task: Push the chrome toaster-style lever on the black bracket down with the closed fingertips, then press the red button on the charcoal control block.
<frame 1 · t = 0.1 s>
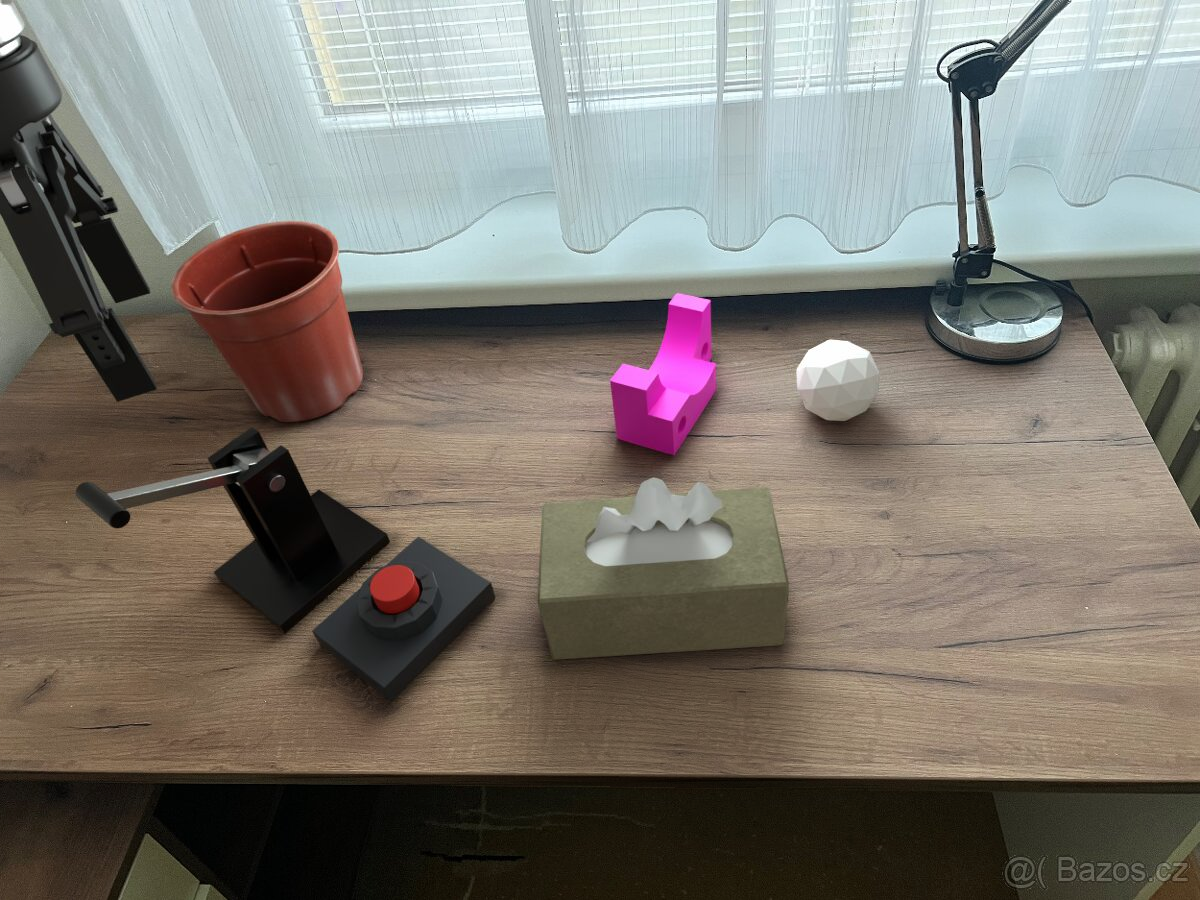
hand: (135, 341, 66), 23 cm above the table, tool pointing down, fingers open, 13 cm apart
ball: (833, 410, 87), on the table
tissue box: (663, 604, 72), on the table
bracket: (305, 560, 79), on the table
flower pot: (310, 388, 98), on the table
lever: (188, 484, 67), point 15 cm above the table, hinge at 28.0°
button: (394, 589, 70), point 5 cm above the table, slide at 0.2 cm
toy block: (677, 401, 90), on the table
button block: (409, 621, 73), on the table
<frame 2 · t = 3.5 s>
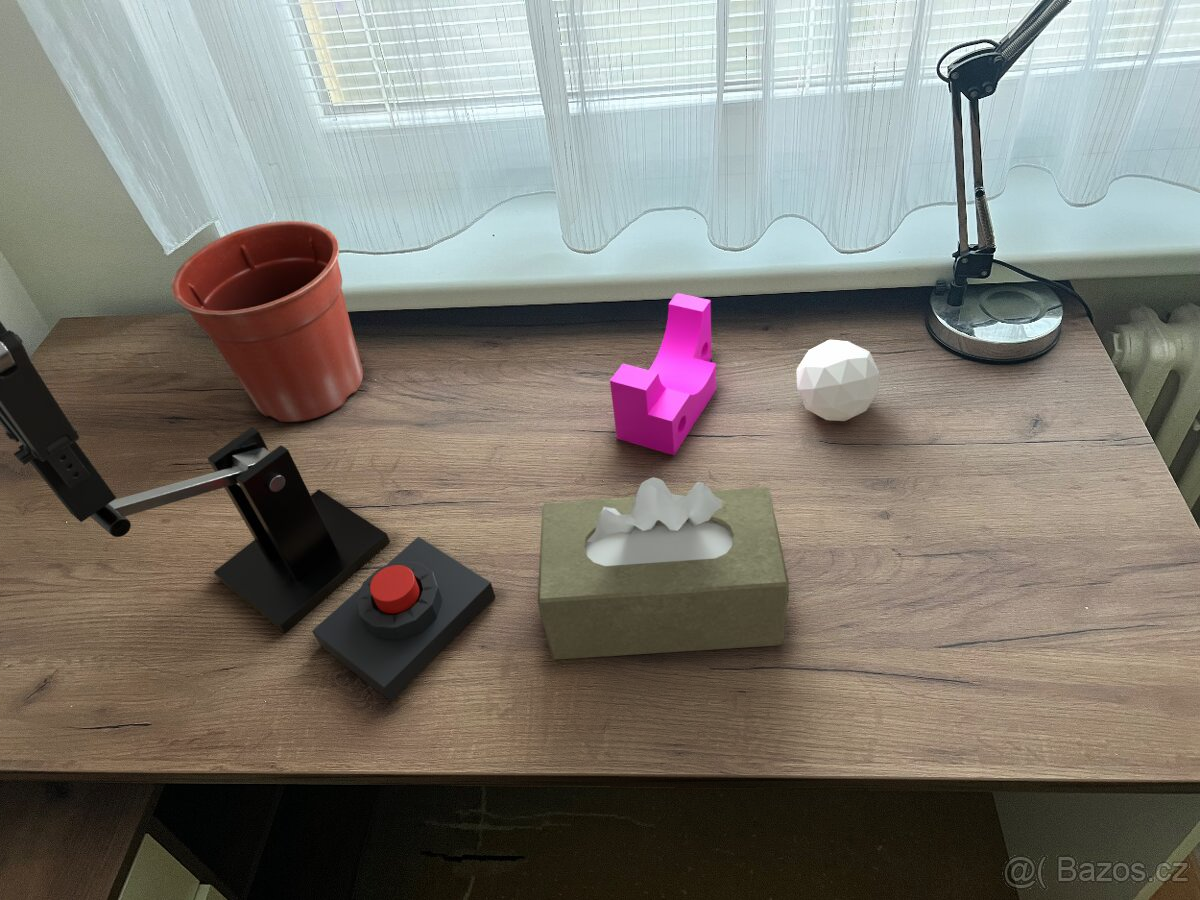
hand: (93, 505, 61), 18 cm above the table, tool pointing down, fingers closed
lever: (188, 488, 67), point 14 cm above the table, hinge at 24.7°, touching gripper
everything else where it was.
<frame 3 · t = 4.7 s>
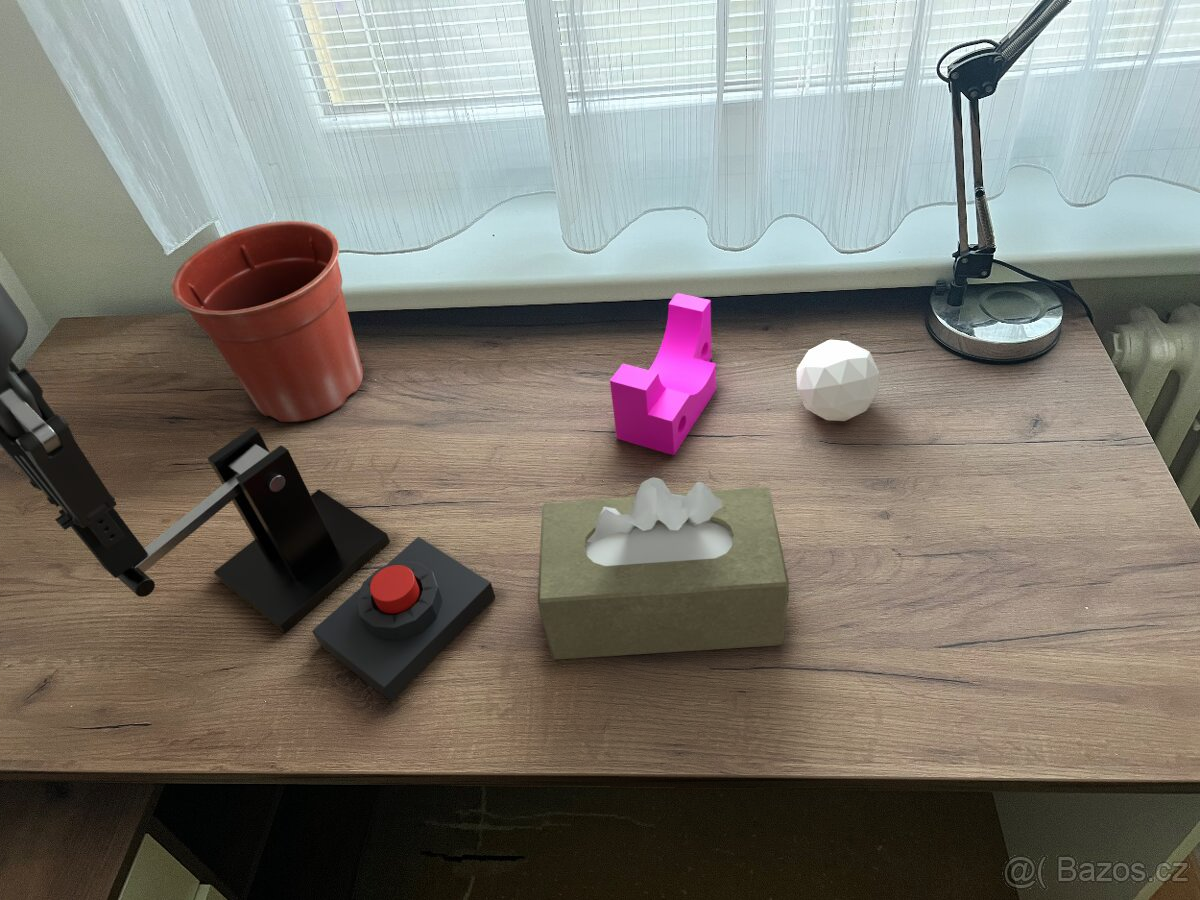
hand: (126, 561, 65), 12 cm above the table, tool pointing down, fingers closed
lever: (198, 516, 68), point 12 cm above the table, hinge at -3.8°, touching gripper
everything else where it was.
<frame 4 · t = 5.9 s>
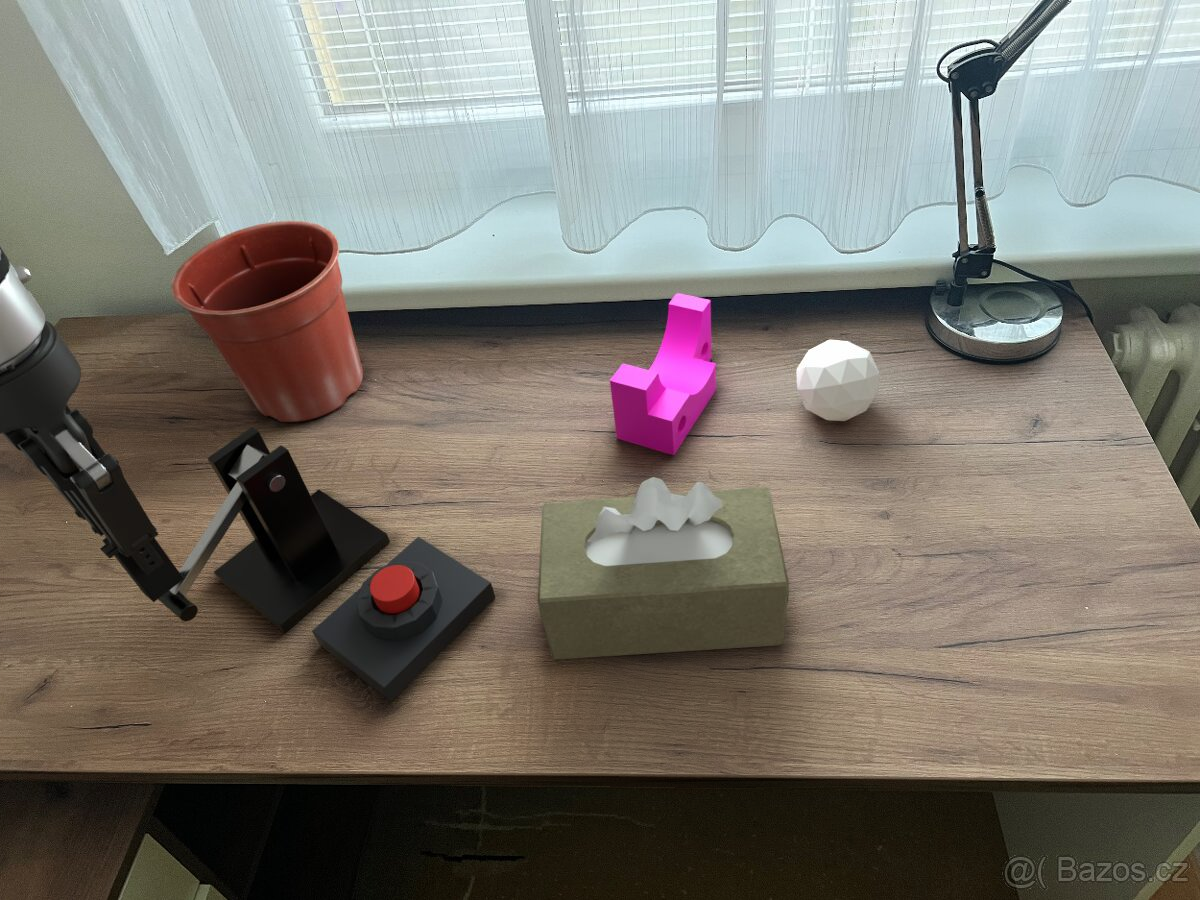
hand: (163, 586, 68), 8 cm above the table, tool pointing down, fingers closed
lever: (216, 529, 70), point 9 cm above the table, hinge at -27.7°, touching gripper
everything else where it was.
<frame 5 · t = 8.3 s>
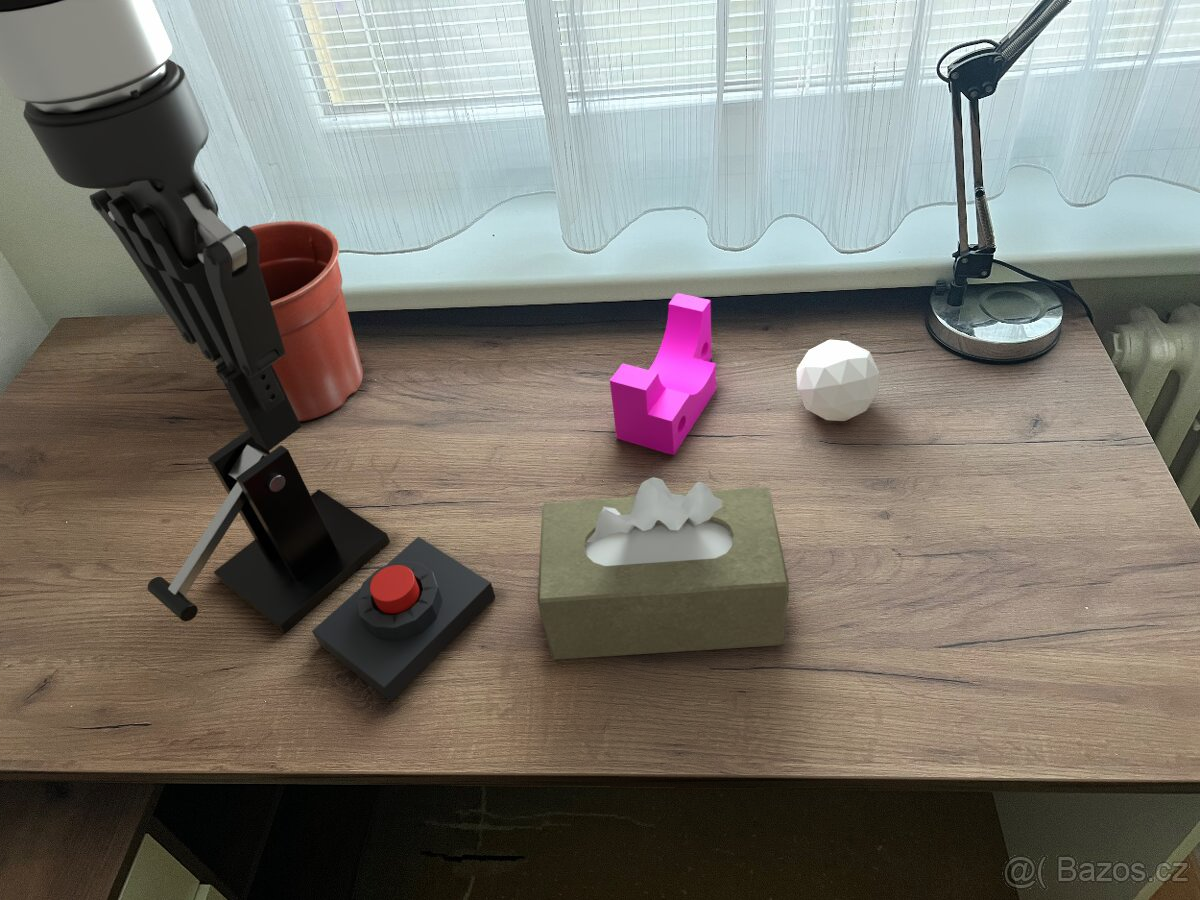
hand: (278, 434, 58), 22 cm above the table, tool pointing down, fingers closed
lever: (216, 529, 70), point 9 cm above the table, hinge at -27.7°
everything else where it was.
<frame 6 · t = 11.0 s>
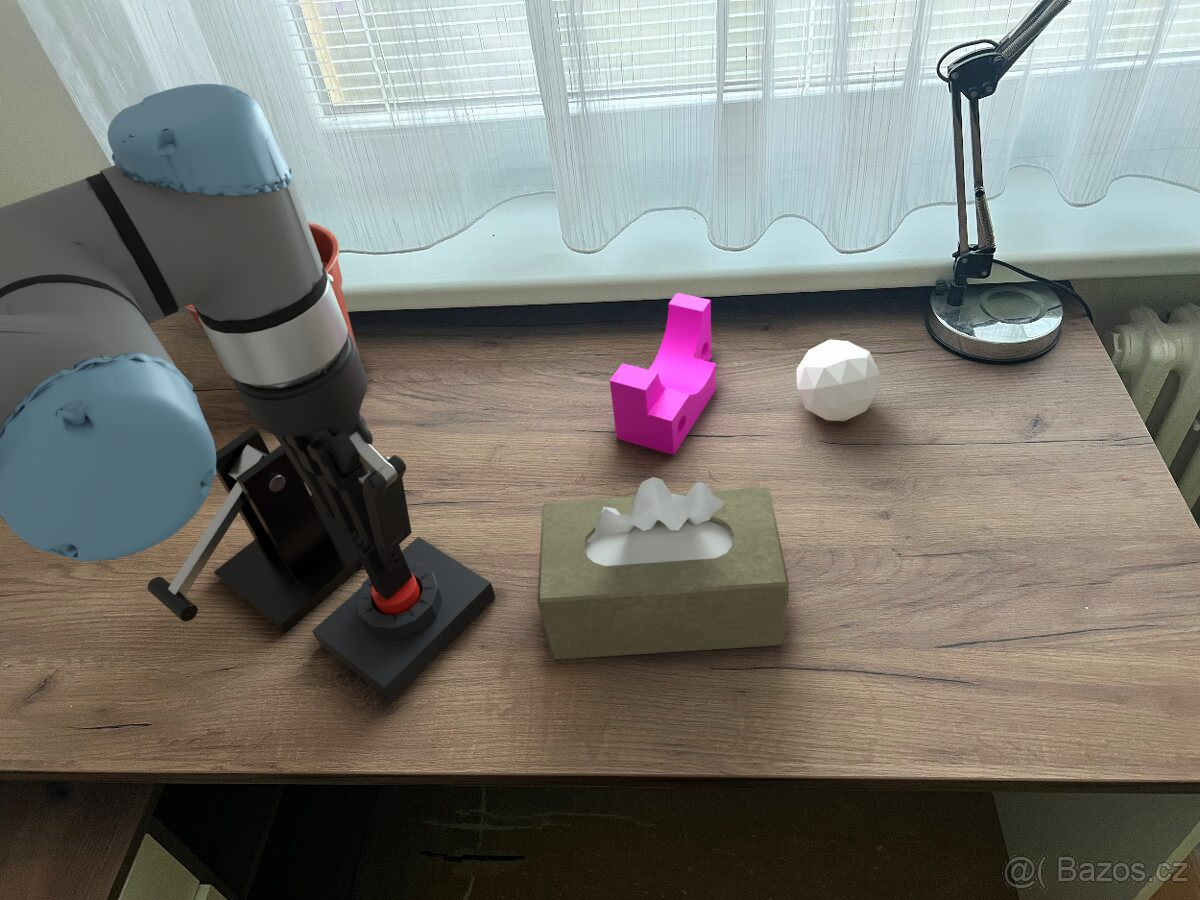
hand: (394, 583, 70), 5 cm above the table, tool pointing down, fingers closed
button: (396, 592, 71), point 4 cm above the table, slide at -0.3 cm, touching gripper
everything else where it was.
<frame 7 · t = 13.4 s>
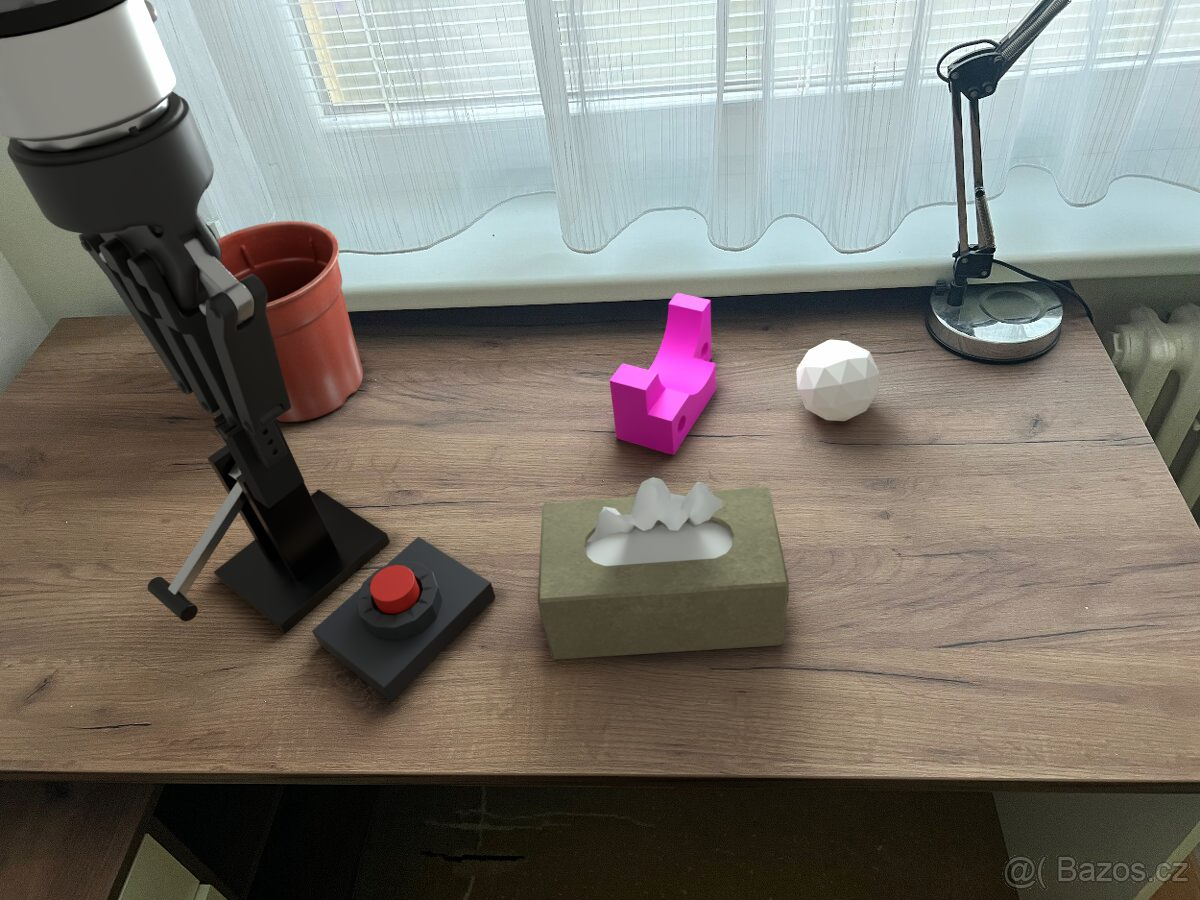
hand: (279, 489, 54), 23 cm above the table, tool pointing down, fingers closed
button: (394, 589, 70), point 5 cm above the table, slide at 0.1 cm
everything else where it was.
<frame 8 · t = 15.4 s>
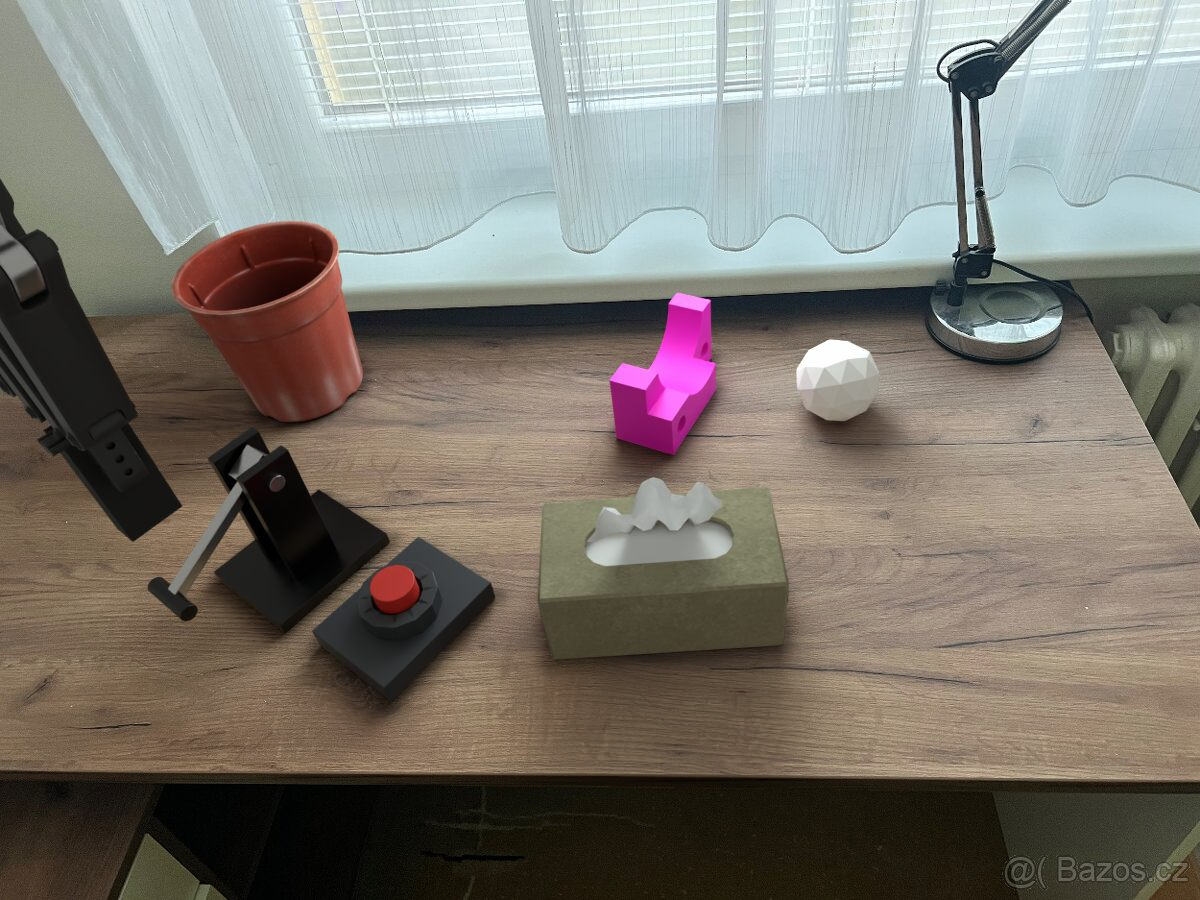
hand: (149, 517, 42), 30 cm above the table, tool pointing down, fingers closed
nothing on the table moved.
at the end: lever at -28° (first picture: +28°); button pushed in 1.0 cm at the most during the clip, back to where it started at the end; button slide at 0.1 cm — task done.
